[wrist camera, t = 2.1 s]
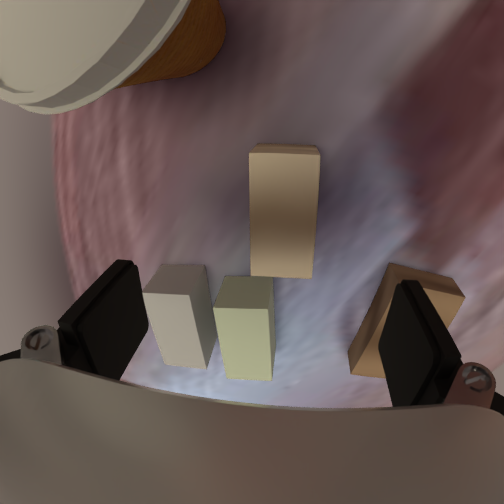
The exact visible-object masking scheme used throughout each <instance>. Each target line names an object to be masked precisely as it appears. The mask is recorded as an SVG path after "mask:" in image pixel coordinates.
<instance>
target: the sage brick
mask: <svg viewBox="0 0 504 504" xmlns="http://www.w3.org/2000/svg"><path fill="white" fill-rule="evenodd" d="M213 311H214V316H215V322H216V327H217V332H218V337H219V343H220V348H221V353H222V358H223V363H224V367H225V372H226V377H227V378H229V379H244V380H264V381H272V376H273V367H274V358H275V349H276V339H275V315H274V292H273V277H266V276H225V278H224V280H223V283H222V286H221V288H220V291H219V293H218V296H217V298H216V301H215V304H214V306H213Z"/></svg>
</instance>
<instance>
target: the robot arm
mask: <svg viewBox="0 0 504 504" xmlns="http://www.w3.org/2000/svg"><path fill="white" fill-rule="evenodd" d="M58 324H59V326H60V327H59V328H58V330H56V329H55V328H54V327H52V326H48V325H43V326H38V327H35V328H33V329H31V330H30V331H29V332H27V333H26V334H25V335H24V337H23V338H22V341H21V349H19V350H16V351H13V352H10V353H7V354H4V355H1V356H0V504H504V397H503V396H502V395H500V394H498V393H496V392H495V388H496V381H495V378H494V376H493V374H492V372H491V371H490V370H489V369H488V368H487V367H485V366H483V365H482V364H479V363H475V362H469V363H465V364H463V363H462V361H461V359H460V358H461V354H460V352H459V350H458V348H457V346H456V344H455V343H454V341H453V339H452V337H451V335H450V333H449V332H448V330H447V328H446V326H445V324H444V323H443V321H442V319H441V317H440V316H439V314H438V312H437V310H436V309H435V307H434V305H433V304H432V302H431V300H430V299H429V297H428V295H427V294H426V292H425V290H424V289H423V287H422V286H421V284H420V282H419V281H418V280H406V279H403V280H402V281H401V283H398V284H397V285H396V287H395V290H394V294H393V298H392V301H391V305H390V308H389V311H388V315H387V318H386V321H385V324H384V327H383V330H382V333H381V336H380V339H379V343H378V350H379V354H380V358H381V361H382V365H383V369H384V373H385V377H386V381H387V384H388V389H389V393H390V397H391V401H392V405H393V407H375V408H310V407H290V406H275V405H262V404H252V403H242V402H233V401H225V400H218V399H211V398H204V397H198V396H191V395H186V394H180V393H174V392H169V391H164V390H159V389H154V388H149V387H145V386H140V385H136V384H132V383H127V382H123V381H119V380H120V378H121V376H122V374H123V373H124V371H125V369H126V367H127V366H128V364H129V362H130V360H131V359H132V357H133V355H134V353H135V352H136V350H137V348H138V346H139V345H140V343H141V341H142V340H143V338H144V336H145V334H146V333H147V331H148V326H149V323H148V318H147V313H146V308H145V303H144V298H143V293H142V288H141V283H140V277H139V271H138V267H137V265H134V263H133V261H131V260H120V259H118V260H116V261H115V262H114V263H113V264H112V265H111V266H110V267H109V268H108V269H107V270H106V271H105V272H104V273H103V274H102V275H101V276H100V277H99V278H98V279H97V280H96V281H95V282H94V283H93V284H92V285H91V286H90V287H89V288H88V289H87V290H86V291H85V292H84V293H83V294H82V295H81V296H80V298H79V299H78V300H77V301H76V302H75V303H74V304H73V305H72V306H71V307H70V308H69V309H68V310H67V311H66V313H65V314H64V315H63V316H62V317H61V318H60V319H59V320H58Z"/></svg>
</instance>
